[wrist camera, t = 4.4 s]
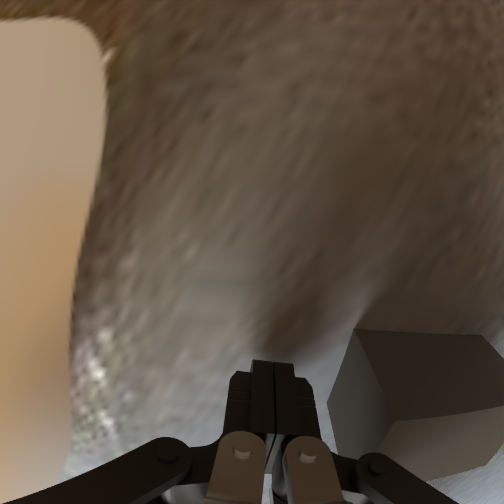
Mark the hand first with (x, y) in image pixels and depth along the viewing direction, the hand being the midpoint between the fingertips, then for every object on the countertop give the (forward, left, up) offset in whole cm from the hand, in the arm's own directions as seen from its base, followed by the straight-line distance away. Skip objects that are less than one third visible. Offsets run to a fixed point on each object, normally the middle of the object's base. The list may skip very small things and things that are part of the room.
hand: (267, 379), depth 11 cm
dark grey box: (-6, 0, -1) cm, 7 cm away
